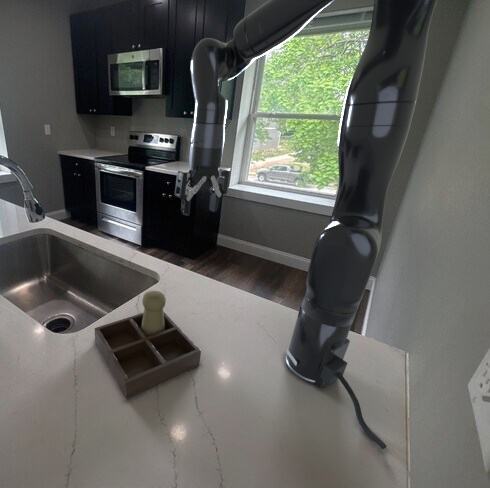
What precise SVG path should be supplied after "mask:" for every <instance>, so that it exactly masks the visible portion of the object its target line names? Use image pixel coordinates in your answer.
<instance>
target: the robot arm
mask: <svg viewBox="0 0 490 488" xmlns="http://www.w3.org/2000/svg"><path fill="white" fill-rule="evenodd" d="M334 1H335V0H267V1H266V2H264V3H263V4H262V5H260V6H258V7H257V8H256V9H254V10H253V11H252V12H251V13H249V14H248V15H246V16H245V17H244V18H242V19H241V20H240V21H239V22H237V24H236V25H235V27H234V29H233V32H232V33H233V34H232V39H230V40H229V41H227V42H223V41H221V40H218V39H216V38H212V37H205V38H202V39H201V40H200V41H198V42H197V44H196V45H195V46H194V48H193V51H192V54H191V58H190V79H191V85H192V93H193V97H194V107H193V118H192V119H193V120H192V128H191V133H190V142H189V143H190V144H189V155H188V156H189V157H188V165H189V169H188V171H187V172H186V171H181V170H178V171H177V172H176V180H175V188H174V197H176V198H178V199H181V204H180V205H181V206H180V212H181V213H182V215H183V216H186V217H188V216H190V215H191V205H192V201H191V200H192V198H193V196H194V195H195V194H197V193H198V191H203V190H209V193H210V194H211V195H210V198H209V208H208V209H209V211H210V212H212V213H216V212H217V211H218V210H219V206H220V205H219V204H220V198H221V197H222V196H223V195H227V193H228V187H229V176H230V175H229V174H230V171H229V170H228V169H224V168H220V167H221V166H222V159H223V151H224V144H225V135H226V133H225V131H226V130H225V127H226V125H225V124H226V119H227V111H228V100H227V97H226V96H225V95H224V94H222V93H221V91H220V84H219V83H224V82H228V81H230V80H232V79H234V78H235V77H237V76H239V75H240V74H241V73H242V72H243V71H245V70H246V69H247V68H248V67H249V66H250V65H251V64H252V63H253V62H254V61H255V60H256V59H258V58H260V57H262V56H264V55H266V54H267V53H269V52H271V51H273V50H274V49H276V48H278V47H280V46H281V45H283V44H284V43H286V42H287V41H289V40H290V39H292V38H293V37H294V36H295V35H297V34H298V33H299V32H300V31H301V30H302V29H303V28H304V27H306V25H307V24H308V23H310V22H311V20H313V18H314V17H315V16H317V15H318V14H319V13H320V12H321V11H322V10H323V9H324V8H326V7H327V6H329V5H330V4H332V3H333V2H334ZM437 3H438V0H373V8H372V9H373V10H372V16H371V17H372V18H371V23H370V29H369V33H368V37H367V40H366V43H365V45H364V49H363V51H362V54H361V55H360V58H359V60H358V62H357V65H356V68H355V69H354V72H353V74H352V76H351V79H350V81H349V82H350V83H349V85H348V87H347V90H346V94H345V98H344V102H343V107H342V112H341V116H340V117H341V118H340V123H339V130H338V137H337V138H338V139H337V159H338V160H337V163H338V189H337V193H336V198H335V201H334V202H335V203H334V207H333V209H332V213H331V216H330V219H329V222H328V224H327V226H326V227H325V228H324V229H323V230H322V231H321V232H320V234H319V235H318V236H317V237H316V238H317V239H316V241H315V243H314V246H313V250H312V253H311V258H310V261H309V265H308V270H307V272H306V273H307V274H306V276H305V277H306V278H305V289H304V292H303V296H302V298H301V299H302V300H301V303H300V306H299V310H298V314H297V317H296V321H295V325H294V328H293V331H292V335H291V338H290V343H289V347H288V348H286V351H285V352H286V355H285V358H284V359H285V364H286V366H287V369H288V370H289V371H290V372H291V373H292V374H293V375H295V376H296V377H297V378H299V379H301V380H302V381H304V382H307V383H309V384H313V385H315V386H316V387H317V388H322V387H324V386H325V385H327V384H328V385H330V384H332V383H333V382H335V381H337V380H339V381H340V383H341V384H342V386H343V387H344V389H345V390H346V392H347V393H348V395H349V397H350V399H351V402H352V404H353V405H354V412H355V416H356V420H357V421H358V424H359V425H360V427H361V428H362V430H363V431H364V433H366V435H367V436H368V437H369V439H371V440H372V441H373V442H375V444H377V446H379V448H380V449H381V450H385V449H386V448H387V447H388V445H387V444H386V443H385V442H384V441H383V440H382V439H381V438H380V437H379V436H377V434H375V433H374V432H373V431H372V430H371V428H370V427H369V426H368V425H367V423H366V421H365V420H364V417H363V414H362V409H361V405H360V402H359V399H358V398H357V396H356V394H355V392H354V390H353V389H352V387H351V386H350V384H349V382H348V381H347V380H346V378H345V377H344V373H345V371H346V369H347V366H348V362H347V361H346V360H344V359H345V356H346V353H347V351H348V348H349V345H350V343H351V340H350V339H349V338H348V336H349V333H350V331H351V328H352V325H353V323H354V320H355V318H356V315H357V312H358V310H359V307H360V303H361V301H362V299H363V297H364V294H365V291H366V288H367V286H368V283H369V280H370V278H371V275H372V272H373V269H374V267H375V264H376V262H377V259H378V255H379V253H380V249H381V247H382V241H383V240H382V238H383V222H384V214H385V207H386V200H387V195H388V191H389V187H390V184H391V182H392V179H393V176H394V174H395V172H396V169H397V167H398V165H399V163H400V159H401V158H402V157H401V156H402V154H403V150H404V148H405V145H406V141H407V139H408V136H409V132H410V129H411V125H412V121H413V117H414V113H415V109H416V106H417V102H418V97H419V91H420V86H421V80H422V76H423V72H424V71H423V70H424V65H425V60H426V54H427V53H426V52H427V45H428V38H429V33H430V32H429V31H430V26H431V22H432V18H433V14H434V12H435V8H436V5H437Z"/></svg>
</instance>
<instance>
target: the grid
mask: <svg viewBox="0 0 490 488" xmlns="http://www.w3.org/2000/svg"><path fill="white" fill-rule="evenodd" d="M143 314H144V312H141V313H138V314H135V315H132V316H128V317H125V318H121V319H119V320H116V321H113V322H110V323H109V322H108V323H107V324H103V325H100V326H97V327H94V343H95V345H96V347H97V349H98V351H99V352H100V354H101V356H102V358H103V360H104V361H105V363H106V365H107V367H108V369H109V370H110V373H111V374H112V376H113V378H114V380H115V382H116V384H117V385H118V387H119V389H120V390H121V392H122V394H123V396H124V399H125V400H129V399H130V398H133V397H135V396H137V395H139V394H142V393H143V392H145V391H147V390H149V389H152V388H154V387H157V386H159V385H161V384H163V383H165V382H167V381H170V380H171V379H174V378H175V377H178V376H180V375H182V374H184V373H186V372H189V371H191V370H193V369H195V368H198V367H200V363H201V354H202V350H201V348H199V346H198V345H196V344H195V343H194V342H193V341H192V339H191V338H190V337H189V336H188V335H187V334H186V333H185V332H184V331H183V330H182V329H181V327H179V325H178V324H176V323H175V322H174V321H173V320H172V318H171V317H170V316H169V315H168V314H167V313H166V312H165V311H164V310H163V314H164V324H165V331H163V332H160V333H157V334H154V335H152V336H149V337H146V336H145V335H144V333H143V332H142V331H141V325H142V319H143Z"/></svg>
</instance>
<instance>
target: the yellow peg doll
mask: <svg viewBox="0 0 490 488" xmlns="http://www.w3.org/2000/svg"><path fill="white" fill-rule="evenodd" d="M141 300H142V301H141V302H142V306H143V313H144V314H143V319H142V325H141V331H142V332H143V333H144V335H145V336H146V337H149V336H152V335H154V334H157V333H160V332H163V331H165V324H164V314H163V311H164V308H165V306H166V301H167V299H166V296H165V294H164V293H163V292H162V291H159V290H149V291H146V292H145V293H144V294H143V296H142V299H141Z"/></svg>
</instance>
